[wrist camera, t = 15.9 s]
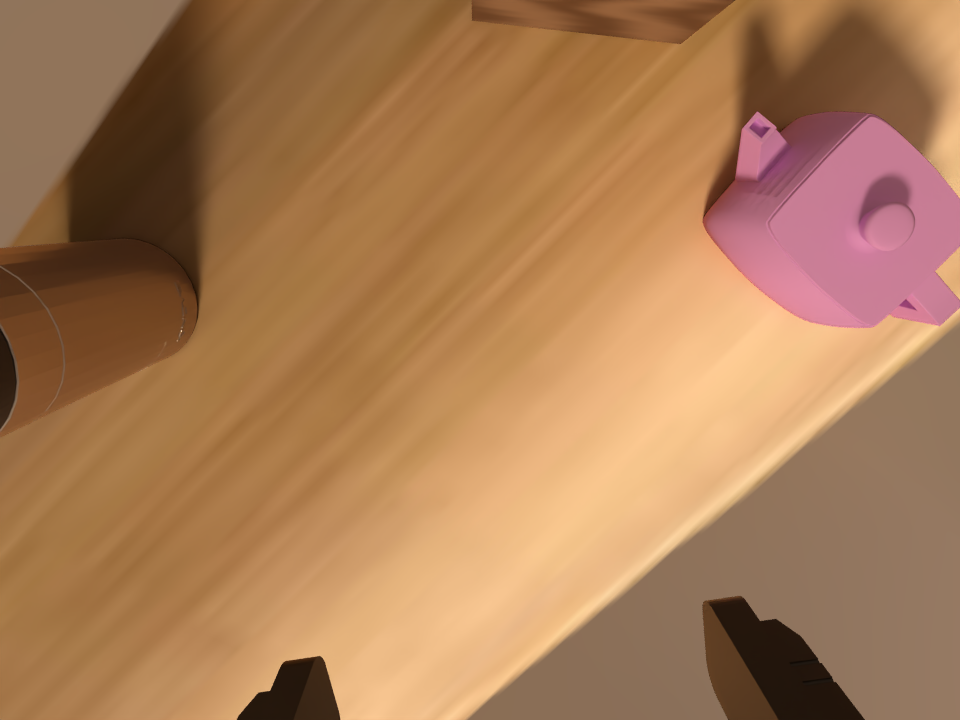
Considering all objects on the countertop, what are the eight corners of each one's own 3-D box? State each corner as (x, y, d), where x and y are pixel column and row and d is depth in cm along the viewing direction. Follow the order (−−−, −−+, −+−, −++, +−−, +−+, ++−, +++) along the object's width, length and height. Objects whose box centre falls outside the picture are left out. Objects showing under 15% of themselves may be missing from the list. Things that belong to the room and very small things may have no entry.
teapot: (649, 193, 40) (705, 187, 31) (758, 69, 38) (856, 21, 29) (815, 350, 44) (916, 392, 34) (924, 244, 42) (1065, 255, 32)
